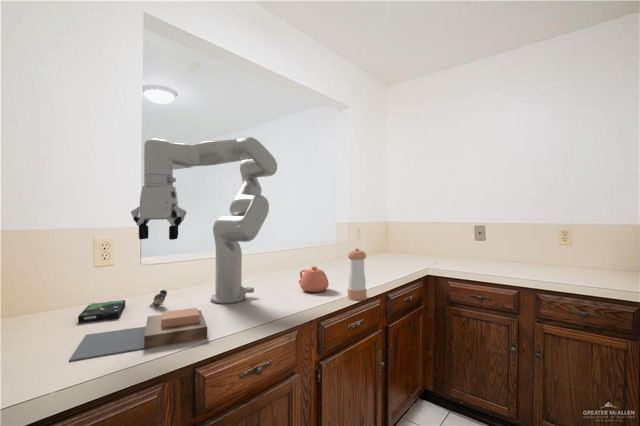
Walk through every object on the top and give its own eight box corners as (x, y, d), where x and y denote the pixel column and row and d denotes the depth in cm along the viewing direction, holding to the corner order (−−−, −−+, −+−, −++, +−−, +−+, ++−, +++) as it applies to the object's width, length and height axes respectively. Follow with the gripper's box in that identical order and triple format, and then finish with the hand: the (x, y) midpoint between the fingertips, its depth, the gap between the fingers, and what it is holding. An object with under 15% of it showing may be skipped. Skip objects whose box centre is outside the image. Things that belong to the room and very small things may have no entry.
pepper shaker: (370, 297, 118) (370, 248, 119) (358, 301, 113) (358, 249, 114) (355, 294, 123) (355, 247, 124) (343, 297, 118) (343, 248, 119)
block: (196, 314, 88) (196, 307, 88) (199, 322, 81) (199, 314, 81) (161, 319, 83) (161, 312, 83) (161, 327, 77) (161, 319, 77)
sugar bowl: (318, 295, 122) (318, 270, 122) (290, 291, 129) (291, 267, 129) (333, 289, 132) (333, 266, 132) (307, 285, 140) (307, 263, 140)
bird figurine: (172, 306, 107) (171, 289, 106) (156, 311, 102) (155, 293, 102) (163, 303, 110) (162, 287, 109) (148, 308, 105) (147, 291, 105)
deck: (200, 319, 92) (200, 309, 92) (207, 338, 78) (207, 326, 78) (147, 327, 86) (147, 316, 86) (144, 349, 72) (144, 336, 72)
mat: (147, 327, 86) (147, 326, 86) (144, 349, 72) (144, 347, 72) (85, 335, 79) (85, 334, 79) (68, 361, 65) (68, 360, 65)
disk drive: (119, 320, 93) (125, 307, 107) (120, 311, 93) (125, 299, 107) (77, 325, 89) (89, 311, 102) (77, 316, 89) (89, 302, 102)
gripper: (192, 182, 93) (192, 238, 93) (141, 183, 96) (141, 238, 96) (177, 179, 86) (177, 240, 86) (122, 180, 88) (122, 239, 88)
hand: (158, 239), depth 91 cm, fingers open, 9 cm apart
